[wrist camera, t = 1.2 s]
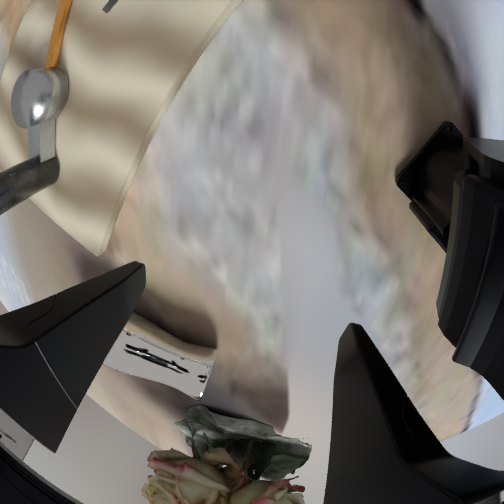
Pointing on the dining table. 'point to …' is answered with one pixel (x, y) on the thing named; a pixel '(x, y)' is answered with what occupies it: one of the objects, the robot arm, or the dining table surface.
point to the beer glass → (161, 357)
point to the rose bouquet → (226, 453)
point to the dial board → (105, 97)
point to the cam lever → (37, 122)
